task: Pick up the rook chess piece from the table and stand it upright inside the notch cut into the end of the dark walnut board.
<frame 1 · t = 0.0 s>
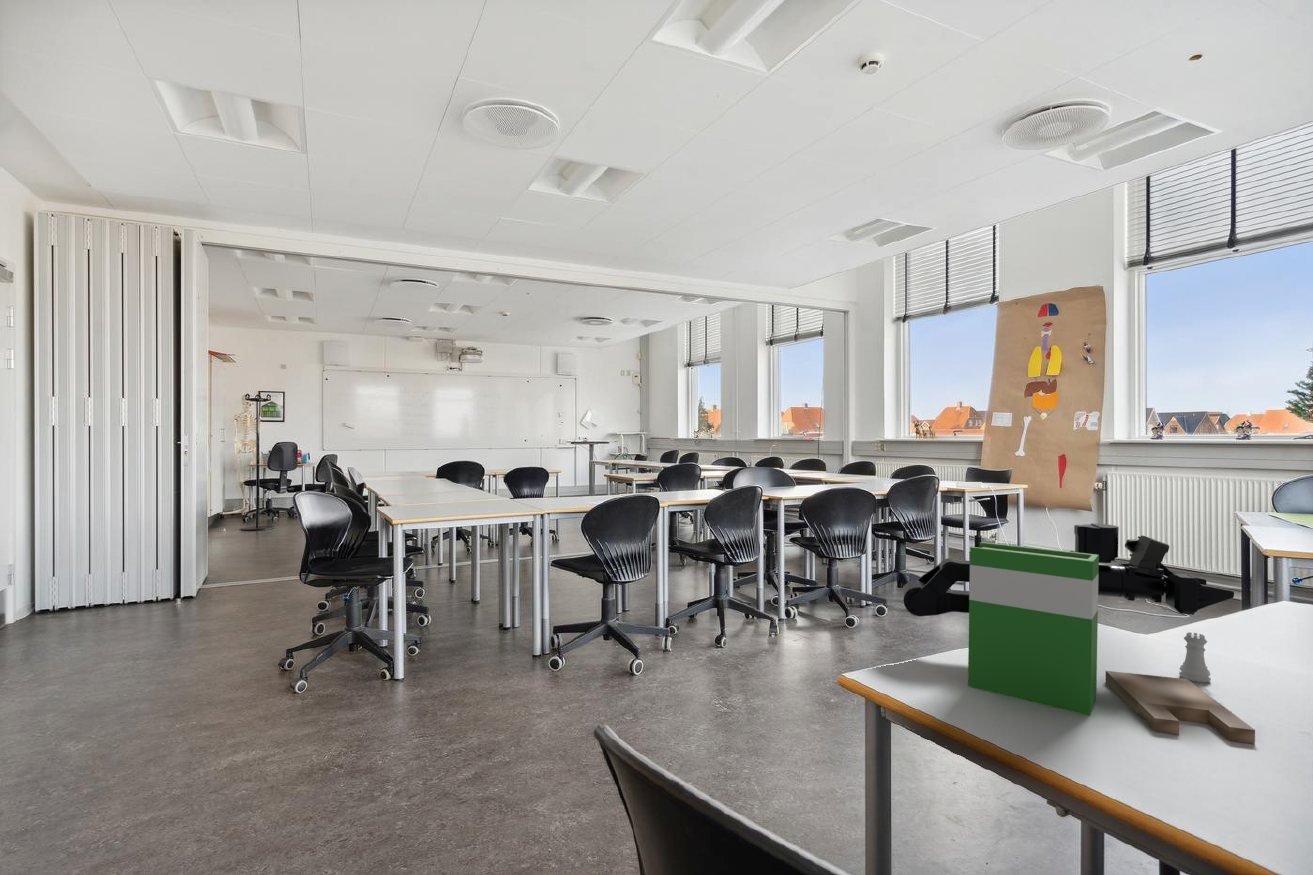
hand: (1219, 588, 116), 17 cm above the table, tool horizontal, fingers open, 9 cm apart
green open box: (1030, 694, 110), on the table
notched board: (1172, 709, 104), on the table
rook chess piece: (1194, 680, 117), on the table
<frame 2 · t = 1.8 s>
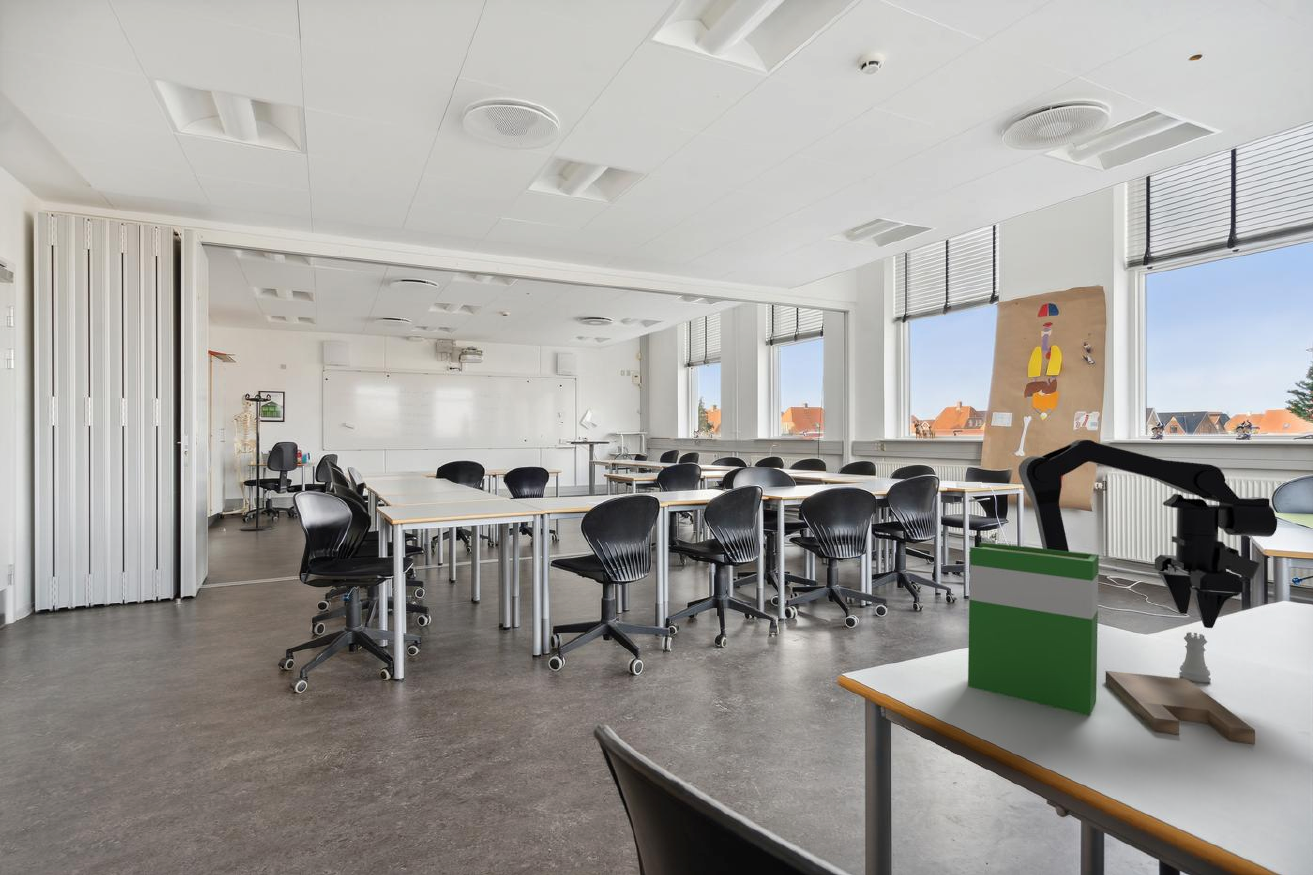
hand: (1195, 620, 117), 10 cm above the table, tool pointing down, fingers open, 9 cm apart
nothing on the table moved.
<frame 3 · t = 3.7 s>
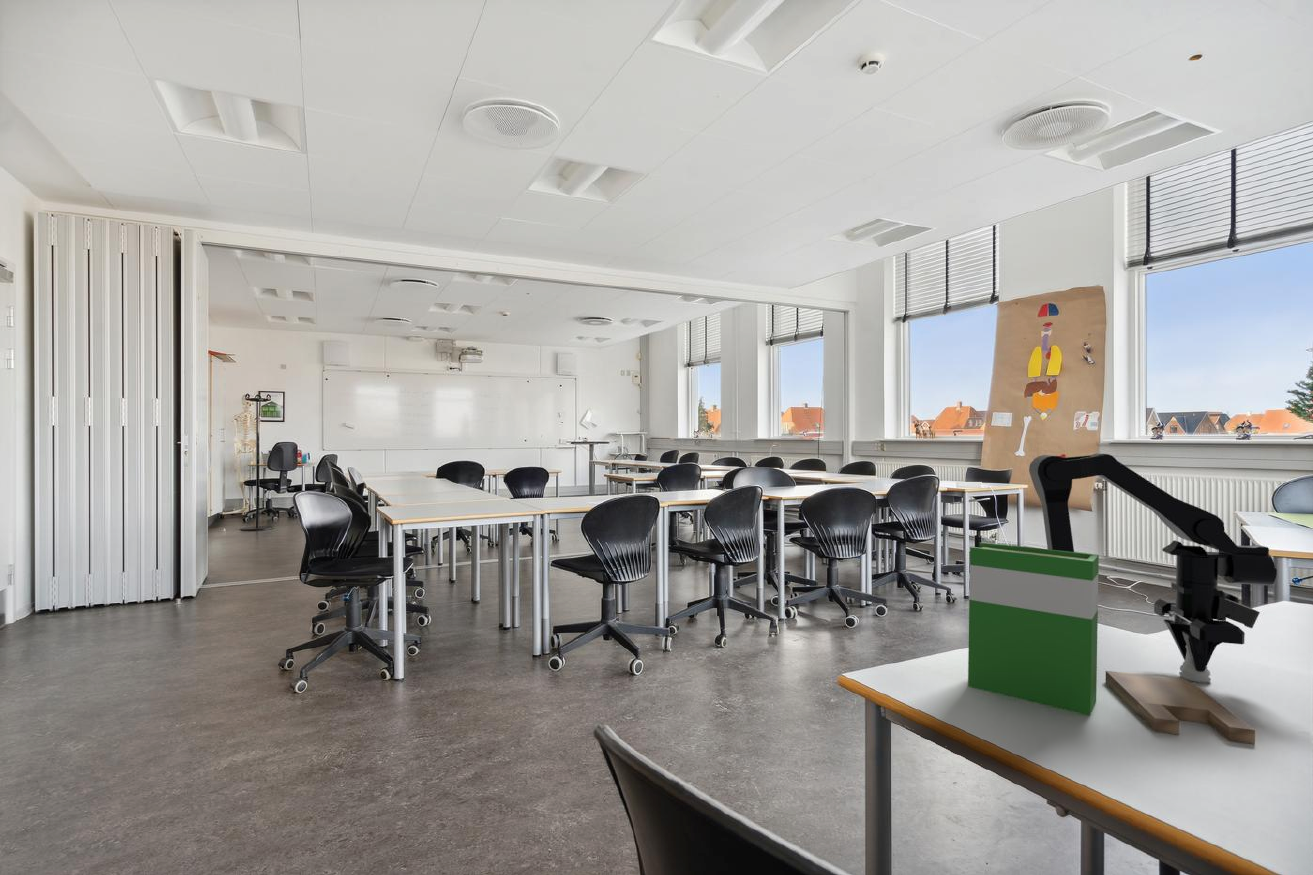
hand: (1194, 667, 117), 2 cm above the table, tool pointing down, fingers closed on rook chess piece, 3 cm apart
rook chess piece: (1194, 679, 117), on the table, touching gripper
everything else where it was.
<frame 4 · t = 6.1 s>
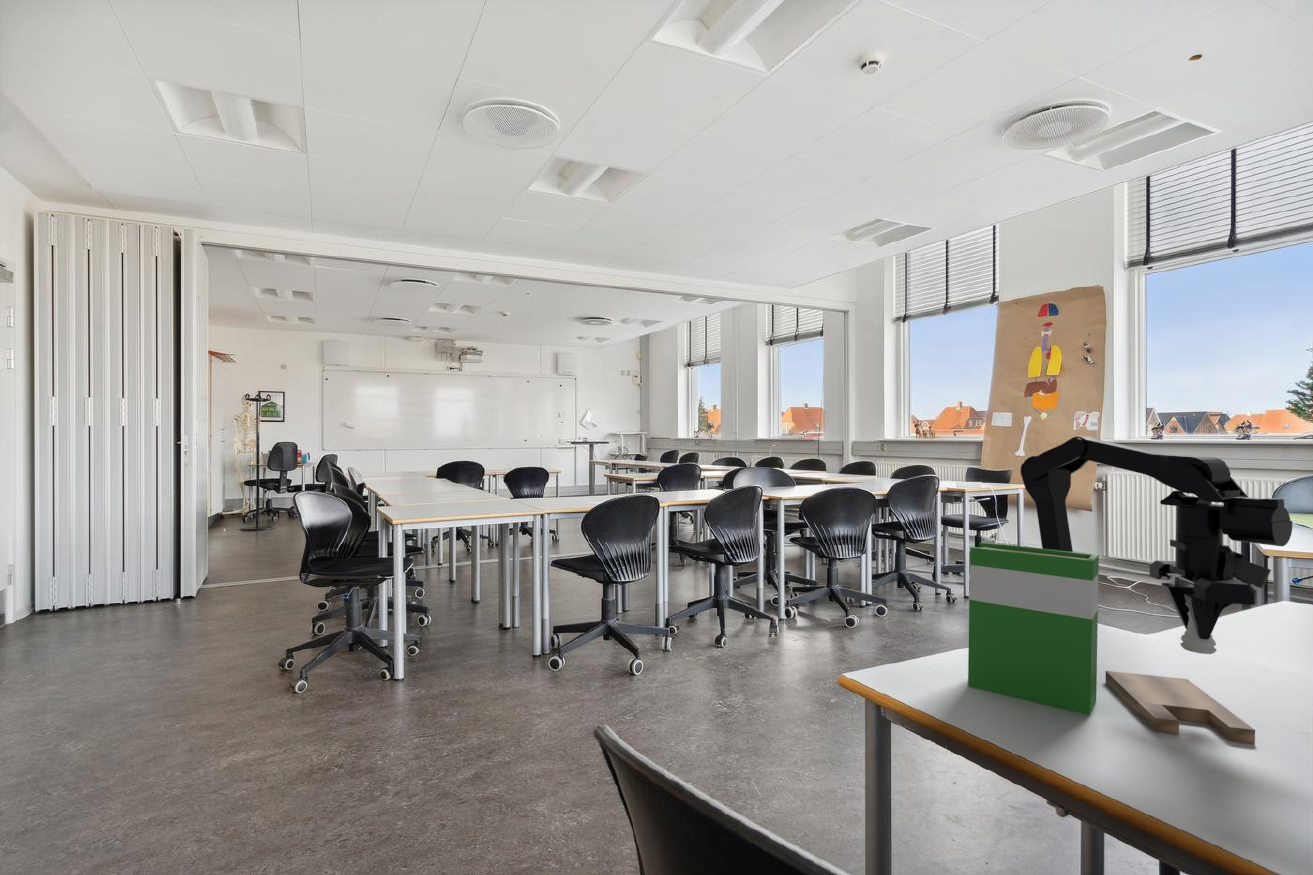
hand: (1197, 635, 103), 12 cm above the table, tool pointing down, fingers closed on rook chess piece, 3 cm apart
rook chess piece: (1198, 651, 103), point 10 cm above the table, touching gripper
everything else where it was.
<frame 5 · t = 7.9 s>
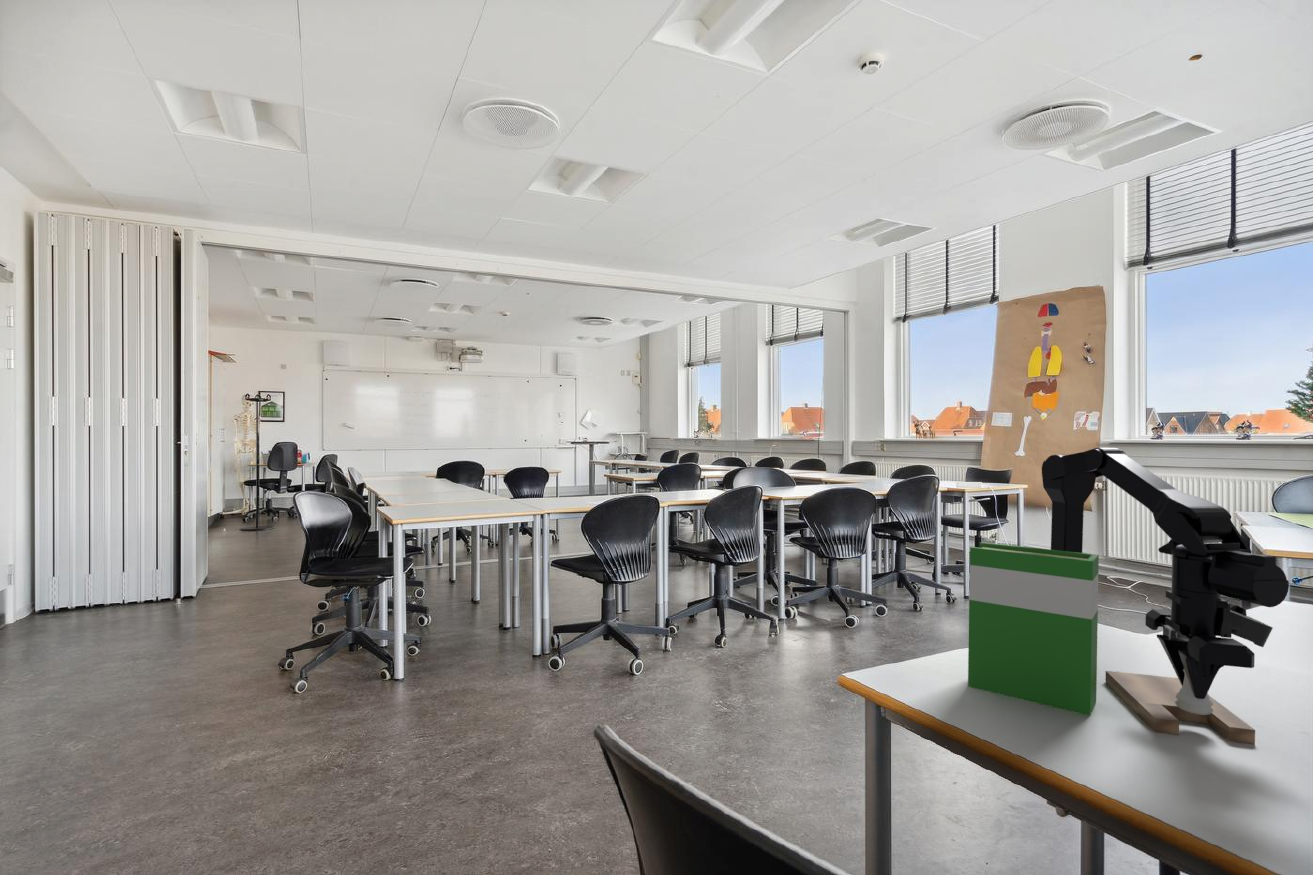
hand: (1193, 693, 97), 5 cm above the table, tool pointing down, fingers closed on rook chess piece, 3 cm apart
rook chess piece: (1194, 710, 97), point 3 cm above the table, touching gripper
everything else where it was.
when the fingers open (3 cm above the table, at t = 8.9 s): rook chess piece drops 1 cm, on the table.
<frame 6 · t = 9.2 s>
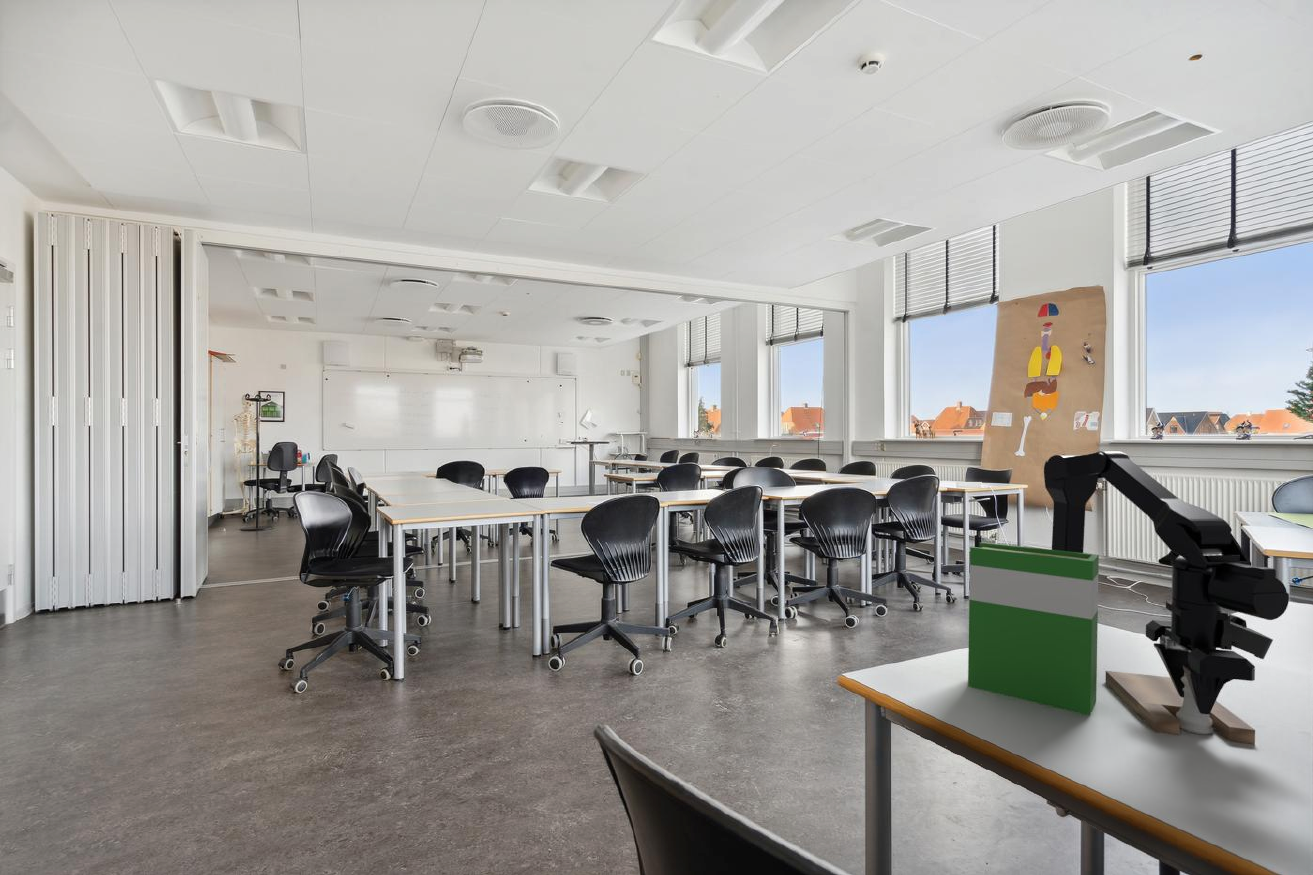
hand: (1193, 705, 97), 3 cm above the table, tool pointing down, fingers open, 6 cm apart
rook chess piece: (1193, 730, 97), on the table
everything else where it was.
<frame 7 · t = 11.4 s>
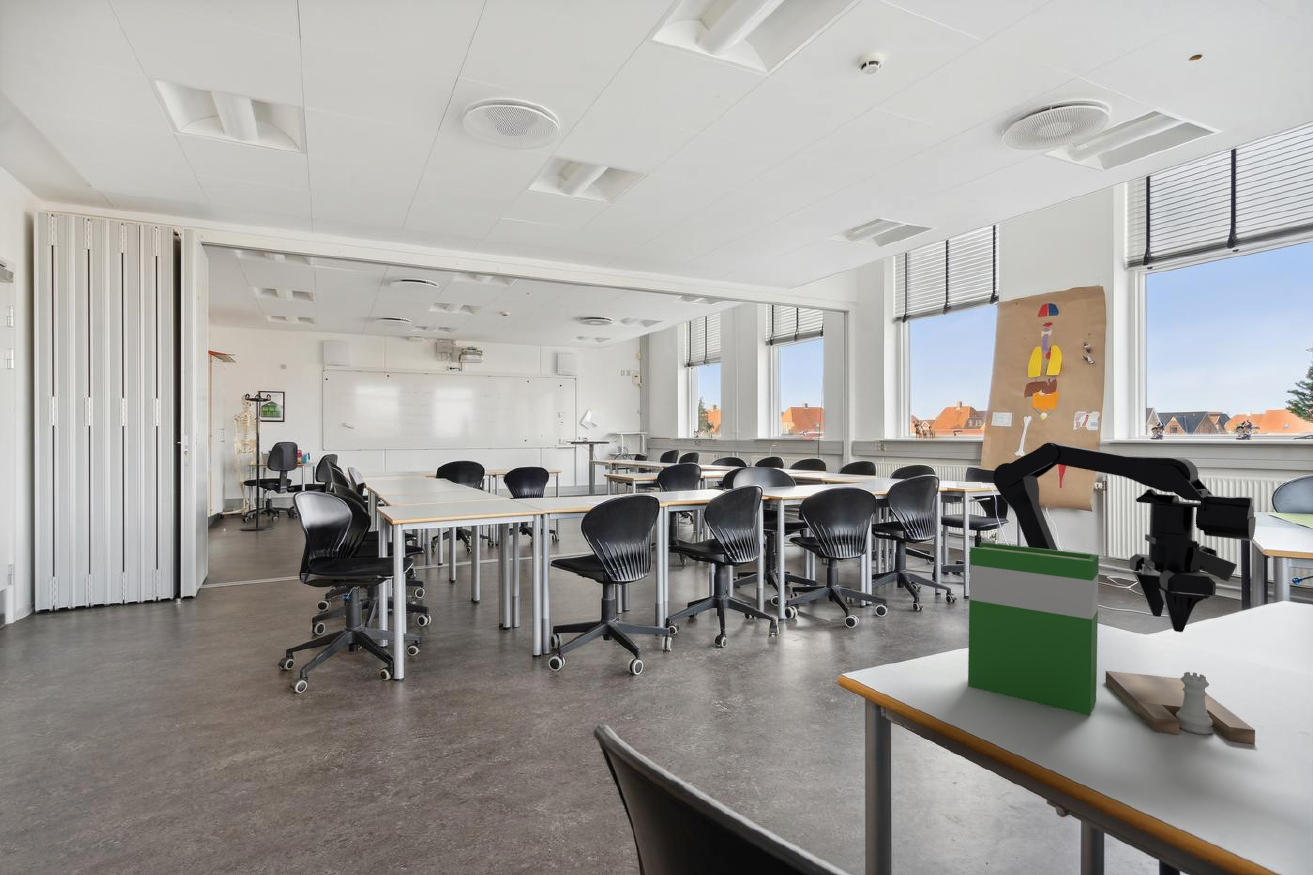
hand: (1167, 623, 110), 12 cm above the table, tool pointing down, fingers open, 9 cm apart
nothing on the table moved.
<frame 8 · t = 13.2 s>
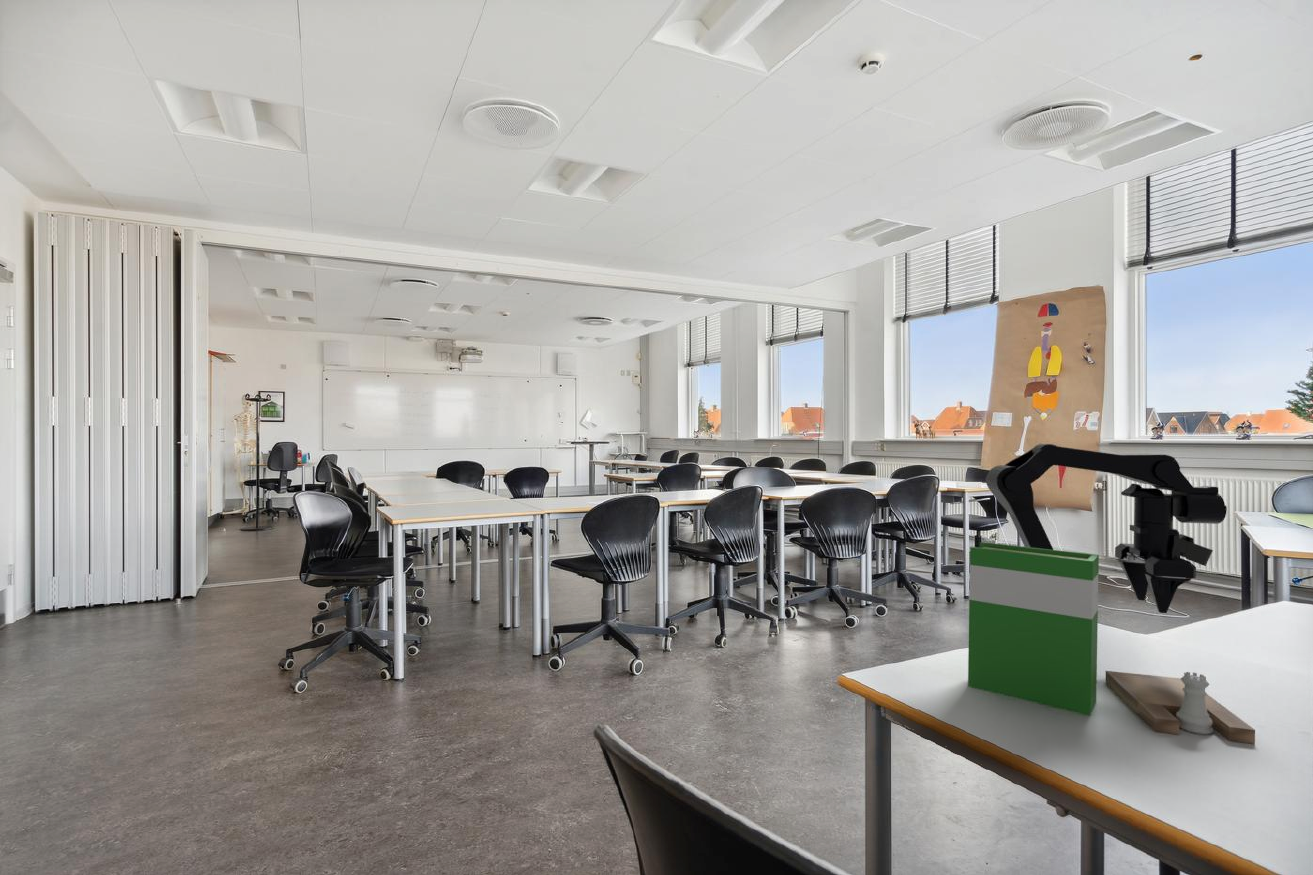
hand: (1151, 606, 121), 12 cm above the table, tool pointing down, fingers open, 9 cm apart
nothing on the table moved.
at the end: rook chess piece 0.1 cm from the target spot on the notched board, point 0.0 cm above the notched board's base; rook chess piece tilted 0°; the gripper is holding nothing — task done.
